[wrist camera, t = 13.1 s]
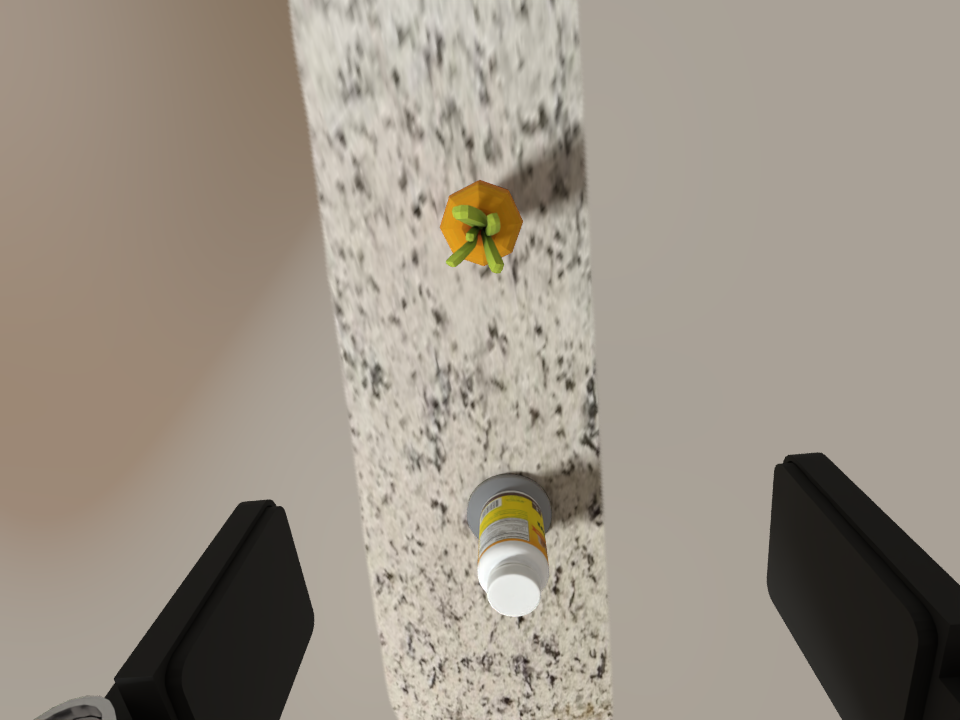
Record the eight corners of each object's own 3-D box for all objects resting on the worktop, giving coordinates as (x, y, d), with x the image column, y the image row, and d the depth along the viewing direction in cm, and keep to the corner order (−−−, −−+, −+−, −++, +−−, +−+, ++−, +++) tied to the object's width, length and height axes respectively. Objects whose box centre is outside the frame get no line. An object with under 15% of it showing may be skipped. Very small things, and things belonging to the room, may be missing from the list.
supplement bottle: (539, 541, 53) (547, 629, 43) (478, 537, 53) (473, 623, 43) (545, 489, 51) (556, 568, 41) (482, 484, 51) (478, 562, 41)
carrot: (519, 239, 44) (528, 280, 30) (455, 243, 45) (434, 286, 31) (516, 171, 43) (524, 181, 29) (449, 176, 43) (425, 189, 29)
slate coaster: (462, 477, 52) (461, 482, 51) (547, 470, 51) (547, 475, 50) (472, 548, 54) (472, 553, 54) (554, 541, 54) (554, 547, 53)
